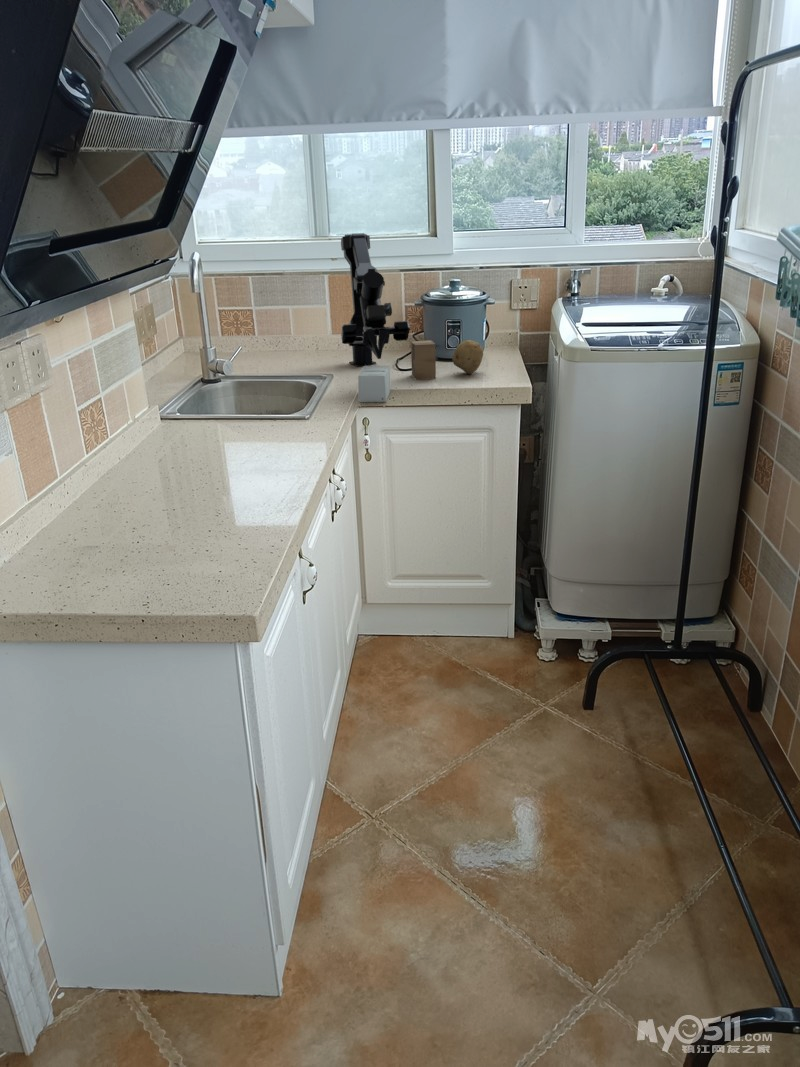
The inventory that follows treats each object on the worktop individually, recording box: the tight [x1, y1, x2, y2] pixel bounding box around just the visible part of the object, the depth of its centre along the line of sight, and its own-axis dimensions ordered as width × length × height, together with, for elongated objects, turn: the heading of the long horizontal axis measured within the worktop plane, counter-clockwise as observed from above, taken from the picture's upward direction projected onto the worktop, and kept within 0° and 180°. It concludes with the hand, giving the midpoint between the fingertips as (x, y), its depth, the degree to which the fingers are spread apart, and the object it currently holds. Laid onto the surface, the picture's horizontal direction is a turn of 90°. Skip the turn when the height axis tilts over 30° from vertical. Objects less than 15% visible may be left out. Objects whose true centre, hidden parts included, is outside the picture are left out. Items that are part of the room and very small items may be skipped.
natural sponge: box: [452, 339, 484, 375], centre depth 248 cm, size 9×9×10 cm
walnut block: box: [410, 339, 437, 381], centre depth 246 cm, size 6×6×10 cm
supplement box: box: [357, 365, 391, 403], centre depth 225 cm, size 7×7×13 cm
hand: (379, 358), depth 230 cm, fingers closed
